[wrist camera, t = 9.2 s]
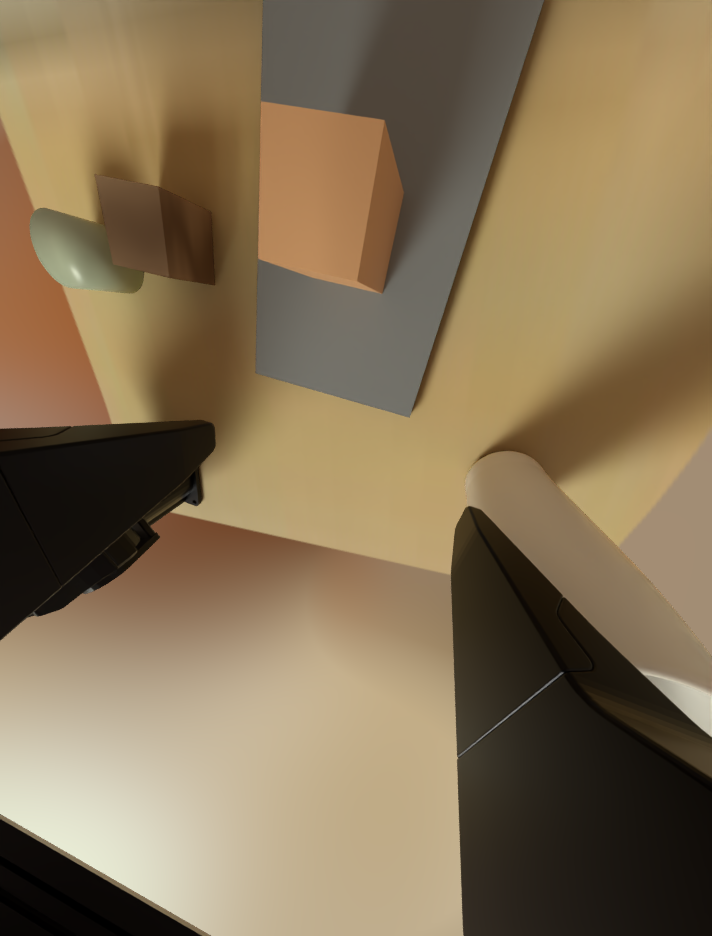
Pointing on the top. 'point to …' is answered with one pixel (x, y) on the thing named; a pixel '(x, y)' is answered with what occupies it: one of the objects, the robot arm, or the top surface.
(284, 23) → the slate mat
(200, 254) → the walnut block
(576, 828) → the robot arm
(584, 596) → the drinking glass
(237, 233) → the top surface
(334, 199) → the terracotta block
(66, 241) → the sage cylinder
